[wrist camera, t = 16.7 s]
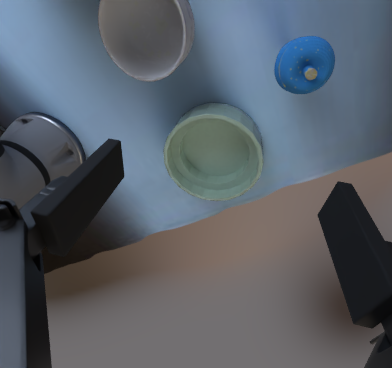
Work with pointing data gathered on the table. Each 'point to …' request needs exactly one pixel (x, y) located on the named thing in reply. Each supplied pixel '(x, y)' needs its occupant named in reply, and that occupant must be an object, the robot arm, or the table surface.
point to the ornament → (304, 64)
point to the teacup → (146, 35)
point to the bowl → (214, 152)
